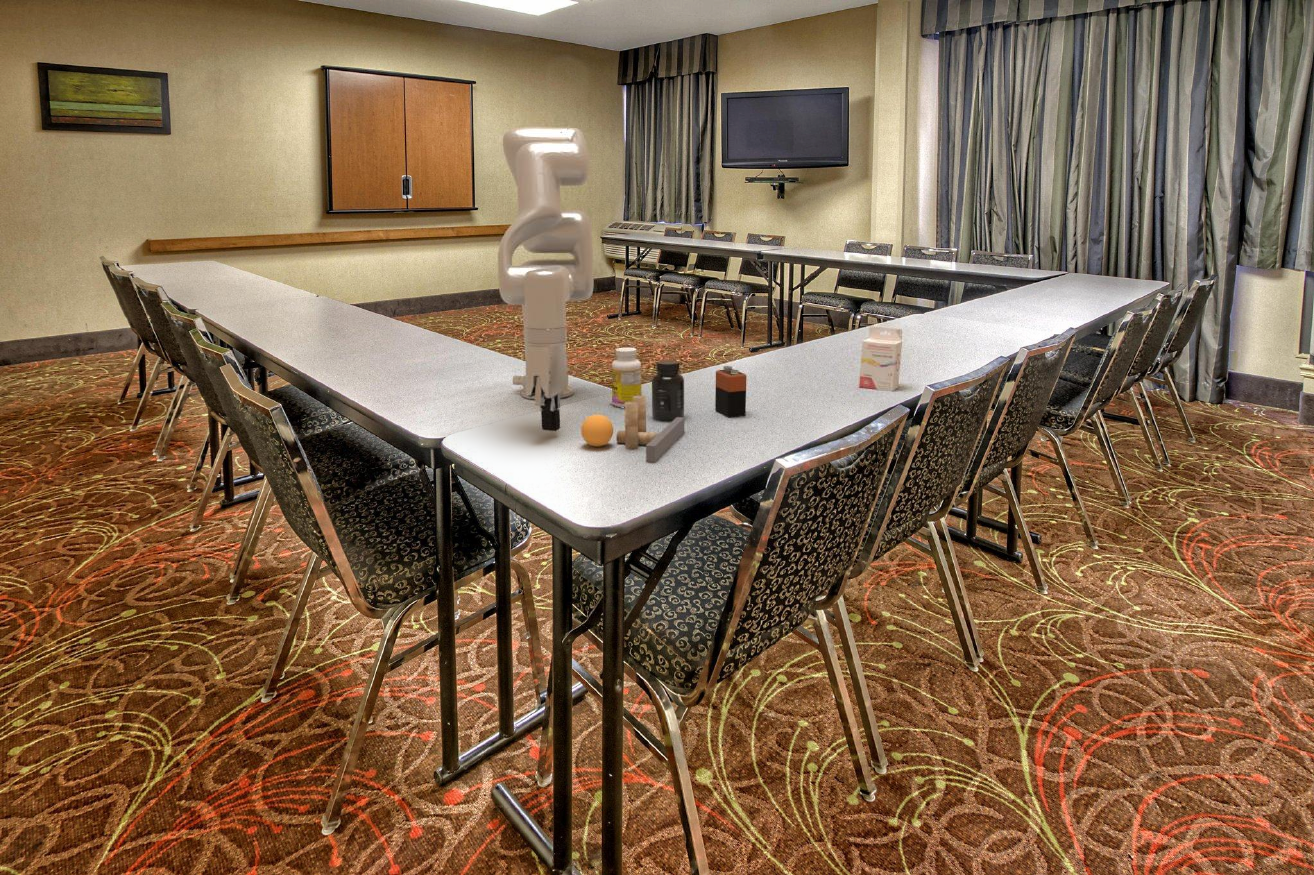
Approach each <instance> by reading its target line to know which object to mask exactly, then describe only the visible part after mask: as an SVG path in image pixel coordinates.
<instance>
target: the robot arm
mask: <svg viewBox="0 0 1314 875" xmlns="http://www.w3.org/2000/svg"><path fill="white" fill-rule="evenodd" d="M502 148H503V153H504V157H505V161H506V162H507V166H508V168H509V170H510V173H511V174H512V176H513V180H514V182H515V184H516V188H517V191H516V192H517V206H518V207H517V209H518V211H517V212H518V214H517V215H518V216H517V218H516V219H515V220H514V221H513V222H512V224H510V226H509V227H508V228H507V229H506V231H505V232H504V235H503V236H502V238H501V241H500V242H499V247H498V252H497V270H498V272H497V274H498V289H499V294H500V297H501V299H502V300H503V301H504V303H506V304H508V305H510V306H511V305H512V306H521V310H522V320H523V323H522V324H523V339H524V340H523V341H524V357H525V359H524V360H525V375H523V376H522V375H513V377H512V384H513V385H515V386H516V385H517V386H522V388H521V390H520V395H521V396H522V397H523V398H525V399H529V400H534V405H535V406H539V411H540V415H541V416H540V418H541V429H542V430H543V431H549V432H557V431H558V430H560V429H561V419H560V418H561V417H560V416H561V413H560V408H561V399H564V398H567V397H570V396H573V394H574V393H575V391H574V390H575V389H574V388H573V386H571V385H569V368H568V366H569V365H568V358H567V357H568V356H567V349H566V345H567V344H568V338H567V337H568V334H567V314H566V313H567V310H566V309H567V307H566V303H567V302H579V301H585V300H586V301H587V300H589V299H590V298H591V297H592V295H593V293H594V292H593V291H594V285H595V284H594V282H595V281H594V255H593V254H594V252H593V232H592V225H591V221H590V218H589V216H588V215H587V213H585V212H584V211H582V210H577V209H562V201H561V199H562V198H561V186H562V187H567V186H568V187H570V186H571V187H573V186H575V187H576V186H577V187H579V186H583V185H585V184H586V183H587V181H588V178H589V174H590V159H589V158H590V157H589V152H588V151H589V150H588V146H587V142H586V138H585V135H584V133H583V132H582V130H580V129H579V128H576V127H567V126H565V127H559V126H558V127H557V126H556V127H555V126H554V127H553V126H551V127H550V126H523V127H522V126H521V127H514V128H511V129H509V130H507V131H506V132H504V134H503V136H502ZM521 245H522V246H523V247H524V250H526V251H527V252H528V253H533V254H570V255H571V256H572V257H573V258H572V259H571V258H570V259H569V258H568V259H566V258H565V259H563V258H562V259H552V258H551V259H549V258H548V259H547V258H545V259H544V258H542V259H532V260H528V261H524V262H523V263H521V264H520V265H513V256H514V253H515V251H516V250H517V249H518V247H519V246H521Z"/></svg>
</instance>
